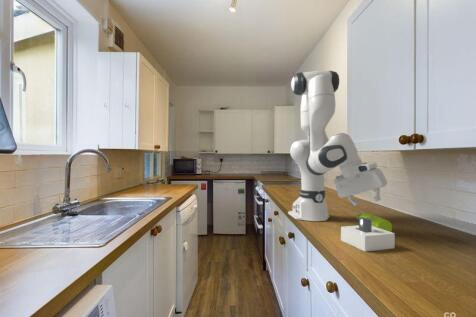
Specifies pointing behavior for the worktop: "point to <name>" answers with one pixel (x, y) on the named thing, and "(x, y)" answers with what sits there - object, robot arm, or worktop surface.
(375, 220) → the soap dispenser
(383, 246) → the socket block
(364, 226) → the metal peg
